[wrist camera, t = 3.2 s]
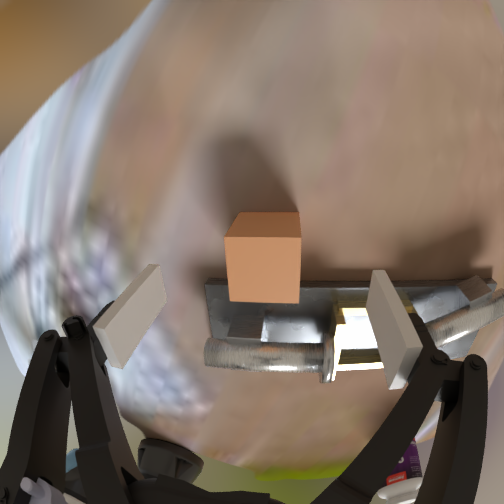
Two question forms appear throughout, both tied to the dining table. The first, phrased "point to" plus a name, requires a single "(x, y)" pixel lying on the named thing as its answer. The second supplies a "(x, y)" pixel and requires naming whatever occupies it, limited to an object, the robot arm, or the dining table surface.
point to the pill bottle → (403, 479)
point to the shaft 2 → (468, 311)
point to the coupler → (264, 257)
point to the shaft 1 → (269, 351)
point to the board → (338, 315)
